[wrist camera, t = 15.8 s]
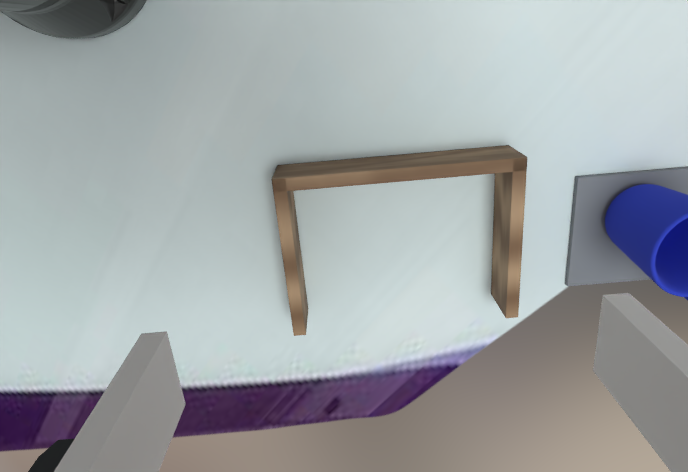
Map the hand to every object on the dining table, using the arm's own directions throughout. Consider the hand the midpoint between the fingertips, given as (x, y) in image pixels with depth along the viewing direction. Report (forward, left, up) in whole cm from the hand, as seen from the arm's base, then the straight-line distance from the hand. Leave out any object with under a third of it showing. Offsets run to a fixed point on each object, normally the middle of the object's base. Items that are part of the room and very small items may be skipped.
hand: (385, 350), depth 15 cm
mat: (+12, +28, -35) cm, 46 cm away
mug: (+12, +29, -34) cm, 46 cm away
